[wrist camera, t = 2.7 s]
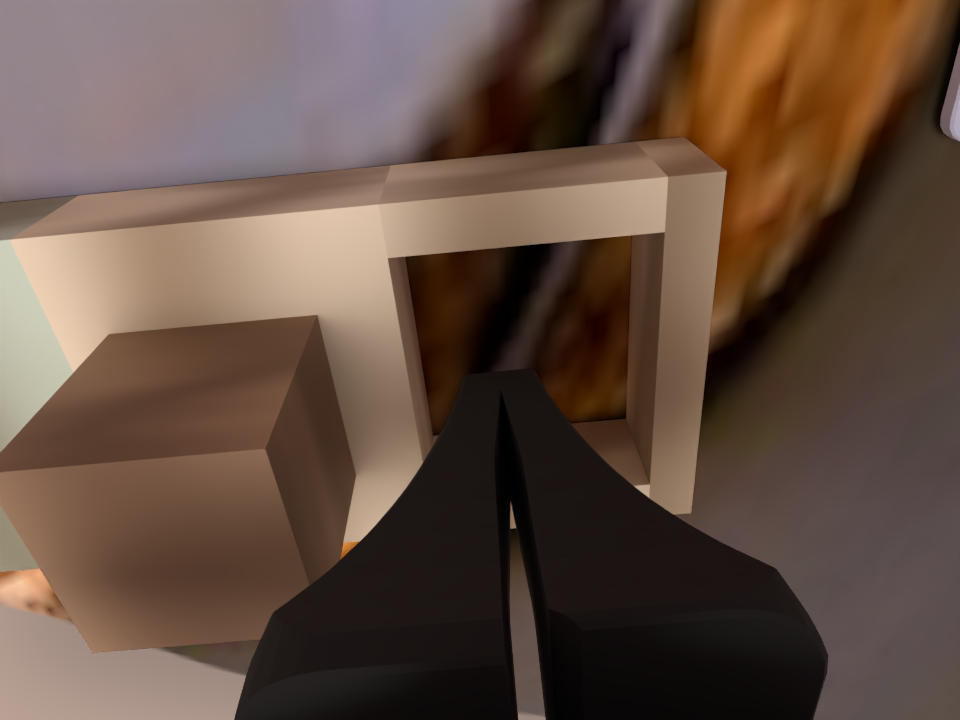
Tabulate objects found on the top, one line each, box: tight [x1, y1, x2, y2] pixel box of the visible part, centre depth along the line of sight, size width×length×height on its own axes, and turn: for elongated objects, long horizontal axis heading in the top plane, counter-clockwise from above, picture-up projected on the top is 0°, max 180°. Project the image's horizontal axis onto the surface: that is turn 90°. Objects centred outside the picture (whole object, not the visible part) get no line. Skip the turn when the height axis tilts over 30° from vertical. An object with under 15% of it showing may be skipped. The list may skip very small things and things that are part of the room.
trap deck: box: [0, 137, 727, 572], centre depth 15 cm, size 24×8×2 cm, turn 95°
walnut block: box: [0, 315, 356, 653], centre depth 12 cm, size 4×4×4 cm
